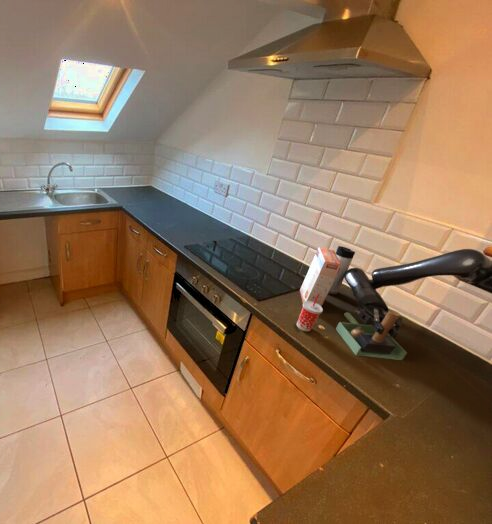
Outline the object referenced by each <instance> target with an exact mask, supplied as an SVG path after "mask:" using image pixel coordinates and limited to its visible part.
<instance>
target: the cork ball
mask: <svg viewBox="0 0 492 524" xmlns="http://www.w3.org/2000/svg"><path fill="white" fill-rule="evenodd" d="M359 334H365V332H364V331H363V330H361V329H358V328H356V329H353V330H352V331H351V336H352V337H353V338H354V339H355V340H356V338H357V337H358V335H359Z"/></svg>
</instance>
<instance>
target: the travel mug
mask: <svg viewBox="0 0 492 524" xmlns="http://www.w3.org/2000/svg"><path fill="white" fill-rule="evenodd" d="M335 253H336V255H337V257H338V259H339V261H340V263H341V265H342V266H341V268H340V270H339V272H338V274H337V276H336V278H335V280H334V282H333V284H332V286H331V288H330V290H329V292H328V295H329V294H330V295H338V293H339V291H340V288H341V287H342V283H343V282H344V280H345V278H344V275H345V273H346V271H347V270H349V269H350V265H351V263H352V262H353V259H354V257H355V254H356V251H355V250H352V249H351V248H348V247H345V246H343V245H342V246H341V245H338V246H337V249H336V251H335Z"/></svg>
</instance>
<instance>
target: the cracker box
mask: <svg viewBox="0 0 492 524" xmlns="http://www.w3.org/2000/svg"><path fill="white" fill-rule="evenodd" d="M341 266H342V265H341V263H340V261H339V259H338V257H337V255H336V251H335V250H333V249H331V248H325V247H321V246H318V248H317V250H316V252H315V254H314V257H313V259H312V261H311V263H310V266H309V268H308V270H307V273H306V275H305V277H304V280H303V282H302V285H301V286H300V289H299V294H300V298H301V302H302V304H303V303H304V302H305V301H311V302H314V301H315V299H316V297H317V295H318V294H320V295H319V297H318V299H317V301H316V303H317V304H319V305H320V306H321V307H322V306H323V304H324V303H325V301H326V298H327V296H328V295H329V293H328V292H329V290H330V288H331V286H332V284H333V282H334V280H335V278H336V276H337V274H338V272H339V270H340V268H341Z"/></svg>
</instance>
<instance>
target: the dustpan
mask: <svg viewBox="0 0 492 524" xmlns="http://www.w3.org/2000/svg"><path fill="white" fill-rule="evenodd" d="M343 316H344V317H345V319H346V320H347V321H348V322H344V321H343V322H341V321H339V322H338V324H337V326H336V328H335V330H336V331H337V333H338V334H339V336H340V337H341V338H342V339H343V341H344V343H346V345H347V346H348V347H349V348H350V350H351V351H352V352H353V353H354V355H355V356H358V357H368V358H377V359H386V360H396V361H403V360H404V358H405V357H406V356H407V354H408V352H407V351H406V350H405V349H404V348H403V347H402V346H401V345H400V344H399V343H398V342H397V341H396V339H395V338H392V337H391V336H390V335H389V333H388V334H387V336H386V337H387V338H388V339H389V340H390V341H391V342H392V343H393V344H394V345H395V348H394V349H393V351H392V352H391V354H382V353H373V352H363V351H362V350H361V347H360V345H359V344H358V343H357V342H356V341H355V339H354V338H353V337H352V336H351V331H352V330H353V329H356V328H358V329H361V330H363V331H364V333H365V334H366V335H374V334H375V332H376V331H375V329H374V327H373V326H372V325H371V324H360V323H359V321H357V320H356V318H355V317H353V315H352V314H351V313H350V312H345V313H344V314H343Z"/></svg>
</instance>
